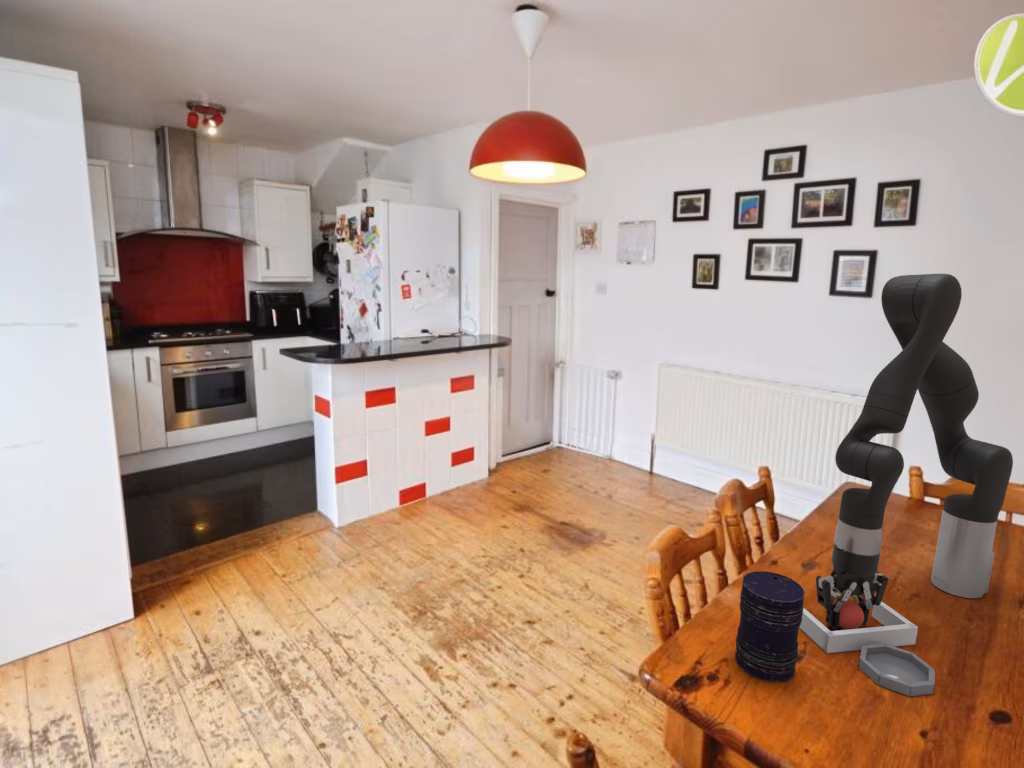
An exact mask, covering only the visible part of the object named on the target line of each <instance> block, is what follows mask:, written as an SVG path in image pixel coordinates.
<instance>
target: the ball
mask: <svg viewBox="0 0 1024 768" xmlns="http://www.w3.org/2000/svg"><path fill="white" fill-rule="evenodd" d="M839 612H840V616H839V623H838V627H840V628H842V629H843V630H849V629H860V627H862V626H861V625H862V624H863V621H864V613H863V611H862V609H861V607H860V606H859V605H858V604H857V603H855V602H854V601H851V600H847V602H846V603H843V604H842V606H841V608H840V610H839Z"/></svg>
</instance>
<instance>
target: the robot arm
mask: <svg viewBox="0 0 1024 768" xmlns="http://www.w3.org/2000/svg"><path fill="white" fill-rule="evenodd" d="M961 287H962V286H961V284H960V281H959V280H958V279H957V278H956V276H954V275H952V274H950V273H930V274H929V273H926V274H925V273H923V274H904V275H898V276H893V277H891V278H890V279H889V280H887V282H886V283H885V284H884V285H883V288H882V290H881V291H882V292H881V298H880V299H881V307H882V312H883V314H884V317H885V319H886V321H887V323H888V325H889V327H890V328H891V330H892V332H893V334H894V336H895V338H896V340H897V342H898V343H899V345H900V347H901V349H902V350H901V351H900V353H898V354H897V355H896V356H895V357H894V358H893V359H892V360H891V361H890V362H889V363H888V364H887V365H885V366H884V368H882V370H880V371H879V373H878V374H877V375H876V376H875V378H874V379H873V381H872V382H871V385H870V387H869V388H868V392H867V396H866V399H865V401H864V405H863V408H862V410H861V413H860V414H859V417H858V418H857V420H856V421H855V422H854V424H853V425H852V427H851V429H850V430H849V432H848V433H847V434H846V435H845V436H844V438H843V439H842V441H841V442H840V444H839V445H838V447H837V450H836V453H835V458H834V459H835V464H836V467H837V468H838V470H839V471H840V472H841V473H842V474H845V475H848V476H851V477H854V478H857V479H861V480H865V481H867V482H868V481H869V482H871V485H870V488H864V487H862V488H861V487H850V488H846V489H845V490H844V491H843V492H842V494H841V500H840V505H839V514H838V520H837V524H836V527H835V533H834V541H833V547H832V548H833V549H832V556H831V563H832V566H833V569H832V571H831V573H830V575H827V576H822V575H817V576H816V577H815V585H816V587H815V588H816V599H817V601H816V602H817V603H818V604H819V605H820V606H822V607H823V608H824V609H826V612H825V618H824V619H825V620H824V621H825V623H827V626H829V627H830V628H831V629H833V630H837V629H838V628H839V625H838V623H839V616H840V612H839V610H840V608H841V606H842V604H843V603H846V602H847V600H848V598H849V596H853V595H856V598H857V601H858V602H859V603H857V604H858V605H859V606H860V607H861V609H862V611H863V613H864V621H863V624H862V625H861V626H860V627H865V626H866V625H867V623H868V621H869V615H870V610H872V609H873V605H877V606H878V605H880V604H881V601H882V602H883V597H884V594H885V592H886V589H887V585H888V584H889V578H888V576H886V575H884V574H883V573H881V572H880V571H878V570H879V562H880V557H881V550H882V543H883V525H884V519H885V512H886V507H887V504H888V502H889V498H890V496H891V494H892V492H893V490H894V488H895V486H896V484H897V482H898V481H899V479H900V477H901V475H902V473H903V471H904V469H905V468H904V467H905V460H904V457H903V454H902V453H901V451H900V450H898V449H897V448H896V447H893V446H890V445H887V444H883V443H882V444H881V443H877V442H875V441H874V442H873V441H871V440H873V438H874V437H876V436H877V435H880V434H889V435H890V434H893V435H894V434H899V433H901V432H902V431H903V430H904V429H905V426H906V423H907V421H908V417H909V414H910V411H911V409H912V405H913V402H914V399H915V397H916V394H917V392H918V393H919V397H920V399H921V400H922V401H921V402H922V403H923V405H924V407H925V410H926V414H927V417H928V419H929V423H930V426H931V428H932V432H933V435H934V440H935V444H936V448H937V449H936V450H937V453H938V459H939V462H940V466H941V468H942V470H943V471H944V472H945V474H947V475H948V476H949V477H951V478H953V479H955V480H958V481H962V482H965V483H966V484H967V483H968V484H971V485H974V489H973V491H972V493H969V494H968V493H954V494H949V495H946V497H945V498H944V501H943V506H942V513H941V518H940V519H941V520H940V524H939V529H938V530H939V532H938V536H937V541H936V547H935V548H936V549H935V553H934V560H933V564H932V565H933V566H932V570H931V577H930V582H931V583H932V585H933V586H935V587H936V588H937V589H939V590H941V591H942V592H945V593H946V594H947V593H948V594H950V595H952V596H957V597H960V598H965V599H980V598H982V597H983V596H984V594H987V593H988V590H989V585H990V579H991V575H992V571H993V564H994V560H995V555H996V554H995V551H993V546H994V540H995V535H996V531H997V530H996V529H997V525H998V520H999V514H1000V513H1001V510H1002V508H1003V505H1004V502H1005V498H1006V494H1007V490H1008V487H1009V483H1010V479H1011V475H1012V471H1013V465H1014V458H1013V454H1012V452H1011V450H1010V449H1009V448H1006V447H1004V446H1002V445H998V444H993V443H990V442H986V441H981V440H978V439H973V438H972V437H971V436H969V435H968V433H967V431H966V428H965V425H964V422H965V421H966V419H967V418H968V417H969V415H970V414H971V413H972V411H974V409H975V408H976V406H977V403H978V401H979V398H980V397H979V389H978V385H977V382H976V379H975V377H974V373H973V370H972V368H971V367H970V365H969V363H968V362H967V361H966V359H964V358H963V357H962V356H961V354H959V353H958V352H956V351H955V350H954V349H953V348H951V347H950V346H949V345H948V344H946V343H945V342H944V339H945V337H946V335H947V334H948V331H949V329H950V328H951V326H952V324H953V322H954V320H955V318H956V316H957V314H958V312H959V309H960V305H961V302H962V295H963V294H962V293H963V292H962V288H961ZM837 590H838V591H839V592H841V593H842V595H840V594H838V592H837ZM875 592H876V593H875ZM835 598H836V599H837V600H836V602H835V603H833V602H834V600H835Z"/></svg>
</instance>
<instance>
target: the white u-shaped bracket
mask: <svg viewBox="0 0 1024 768" xmlns="http://www.w3.org/2000/svg"><path fill="white" fill-rule="evenodd" d="M871 617H872V618H873V619H875V620H876V621H878V622H879V623H880V624H881V625H882V626H873V627H871V626H870V627H861V628H860V627H859V628H857V629H849V630H848V629H840V630H832V631H831V630H830V629H828V627H827V626H825V624H823V622H821V621H820V620H818V619H817V618H816V617H815V616H814V615H813V614H812V613H810V611H808V610H807V609H806V608H804V607H803V615H802V622H801V624H800V626H799V629H800V630H802V631H803V632H804V633H805V635H807V636H808V637H809V638H810V639H811V640H812V641H813V642H814V643H815V644H816V645H818V646H819V647H820V649H822V650H823V651H824V652H825V654H832V653H833V654H835V653H844V652H852V651H860V650H862V646H863V645H872V644H882V643H884V644H887V645H890V646H893V647H902V646H913V645H916V642H917V636H918V629H919V627H918V626H917V625H916V624H914V623H913V622H911V621H909V620H908V619H907V618H906V617H904V616H903V615H902V614H900V613H899V612H897V611H896V610H894V609H893V608H891V607H890V606H889V605H887V604H886V603H884V602H883V600H882V601H881V604H880V605H878V606H877V605H873V606H872V612H871Z"/></svg>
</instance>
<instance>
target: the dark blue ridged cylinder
mask: <svg viewBox="0 0 1024 768" xmlns="http://www.w3.org/2000/svg"><path fill="white" fill-rule="evenodd" d="M741 583H742V587H741V591H740V597H739V598H740V601H739V611H740V618H739V626H738V627H737V635H736V637H735V653H734V655H735V657H734V659H735V662H736V664H737V665H738V667H739V668H740V669H741V670H742V671H744V672H745V673H746V674H748V675H749V676H751V677H753V678H755V679H757V680H760V681H763V682H766V683H773V684H774V683H775V684H776V683H777V684H781V683H787V682H789V681H791V680H792V679H793V678H794V677H795V674H796V665H797V661H798V655H799V652H798V650H799V641H798V636H799V629H800V628H799V626H800V624H801V622H802V615H803V608H804V600H805V590H804V588H803V586H802V585H801V584H800V583H799V582H797V581H796V580H794V579H792V578H790V577H788V576H786V575H783V574H781V573H776V572H771V571H762V570H759V571H758V570H757V571H751V572H748V573H746V574H744V575H743V578H742V582H741Z"/></svg>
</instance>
